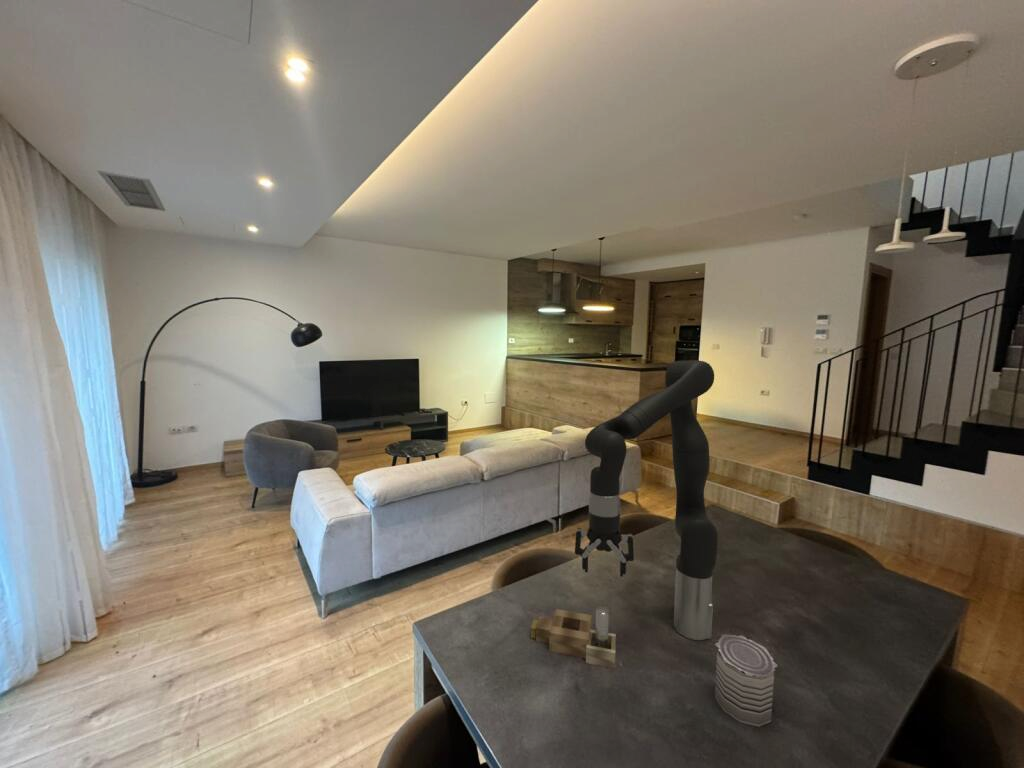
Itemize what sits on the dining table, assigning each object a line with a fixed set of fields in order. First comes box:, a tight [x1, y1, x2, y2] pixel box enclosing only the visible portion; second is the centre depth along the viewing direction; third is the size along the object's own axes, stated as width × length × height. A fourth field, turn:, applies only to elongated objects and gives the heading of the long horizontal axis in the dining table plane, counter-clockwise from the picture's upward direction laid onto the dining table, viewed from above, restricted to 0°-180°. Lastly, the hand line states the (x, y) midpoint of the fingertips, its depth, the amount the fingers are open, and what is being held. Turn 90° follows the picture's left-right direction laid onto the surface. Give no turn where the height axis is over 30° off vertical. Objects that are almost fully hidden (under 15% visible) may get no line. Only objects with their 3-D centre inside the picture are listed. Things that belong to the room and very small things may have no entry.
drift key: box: [530, 619, 539, 639], centre depth 110 cm, size 8×4×3 cm, turn 75°
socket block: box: [535, 608, 593, 659], centre depth 109 cm, size 14×10×5 cm
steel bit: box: [595, 606, 610, 649], centre depth 103 cm, size 3×3×12 cm
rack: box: [585, 628, 617, 669], centre depth 103 cm, size 7×7×4 cm
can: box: [714, 633, 778, 728], centre depth 89 cm, size 11×11×12 cm
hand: (603, 572), depth 102 cm, fingers open, 8 cm apart
